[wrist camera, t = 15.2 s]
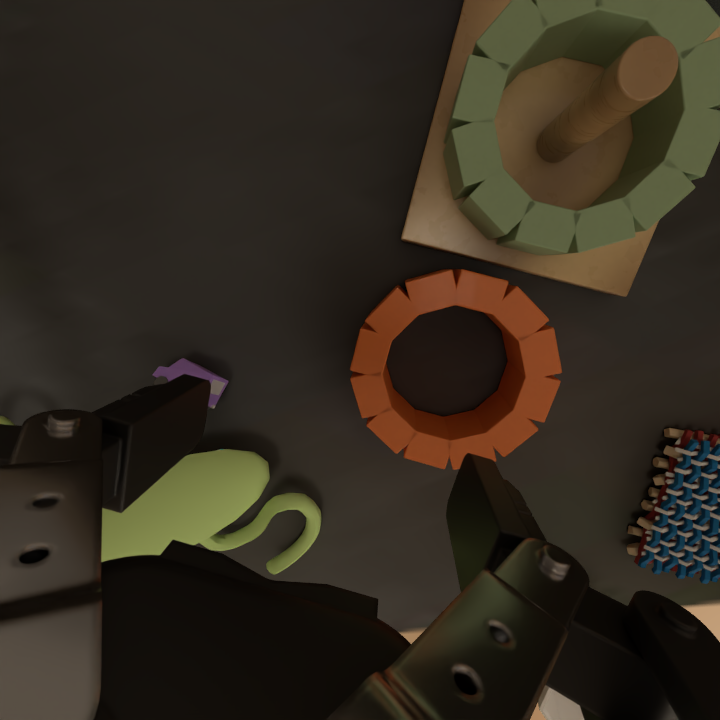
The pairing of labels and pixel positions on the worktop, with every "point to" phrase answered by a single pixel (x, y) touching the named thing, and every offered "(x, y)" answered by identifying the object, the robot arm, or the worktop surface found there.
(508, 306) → the orange ring
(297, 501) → the figurine
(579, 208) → the ring stand
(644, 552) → the woven mat
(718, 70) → the green ring
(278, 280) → the worktop surface
